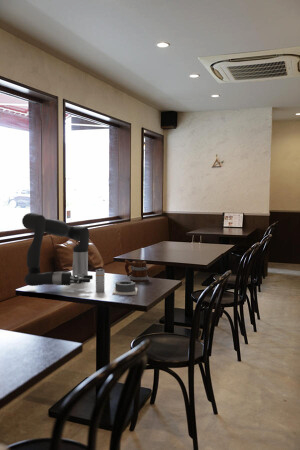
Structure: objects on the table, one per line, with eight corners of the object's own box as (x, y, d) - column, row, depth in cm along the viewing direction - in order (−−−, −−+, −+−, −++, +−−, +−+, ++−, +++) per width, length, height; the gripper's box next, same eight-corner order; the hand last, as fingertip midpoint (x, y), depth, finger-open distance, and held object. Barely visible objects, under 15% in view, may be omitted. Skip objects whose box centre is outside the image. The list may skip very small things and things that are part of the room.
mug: (149, 282, 254) (145, 258, 253) (126, 285, 254) (122, 261, 253) (150, 278, 266) (146, 255, 265) (128, 281, 266) (124, 258, 265)
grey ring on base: (112, 294, 223) (112, 285, 222) (114, 288, 236) (114, 280, 235) (136, 294, 223) (136, 285, 222) (137, 289, 236) (137, 280, 235)
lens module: (95, 292, 227) (94, 270, 226) (96, 290, 232) (96, 268, 231) (104, 292, 227) (104, 270, 226) (105, 290, 232) (105, 268, 231)
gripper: (59, 274, 221) (89, 274, 221) (64, 269, 236) (93, 269, 235) (59, 288, 222) (89, 288, 222) (64, 282, 236) (93, 282, 236)
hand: (91, 278), depth 229 cm, fingers open, 8 cm apart
